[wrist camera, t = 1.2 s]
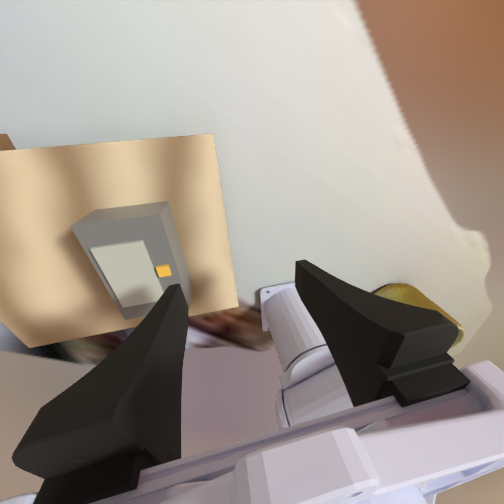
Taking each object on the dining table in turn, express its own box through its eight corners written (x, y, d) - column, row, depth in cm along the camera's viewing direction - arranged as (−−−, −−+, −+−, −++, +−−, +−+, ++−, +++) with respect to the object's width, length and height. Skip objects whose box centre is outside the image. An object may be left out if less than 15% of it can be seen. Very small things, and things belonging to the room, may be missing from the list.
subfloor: (209, 119, 16) (210, 115, 13) (235, 291, 25) (239, 312, 22) (-99, 141, 13) (-189, 143, 10) (58, 325, 22) (35, 354, 19)
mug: (430, 265, 27) (497, 344, 21) (411, 293, 35) (456, 357, 28) (338, 292, 29) (373, 368, 23) (340, 312, 37) (367, 374, 31)
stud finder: (168, 201, 15) (159, 215, 12) (192, 284, 19) (189, 309, 16) (94, 209, 14) (67, 227, 11) (136, 294, 18) (124, 322, 15)
